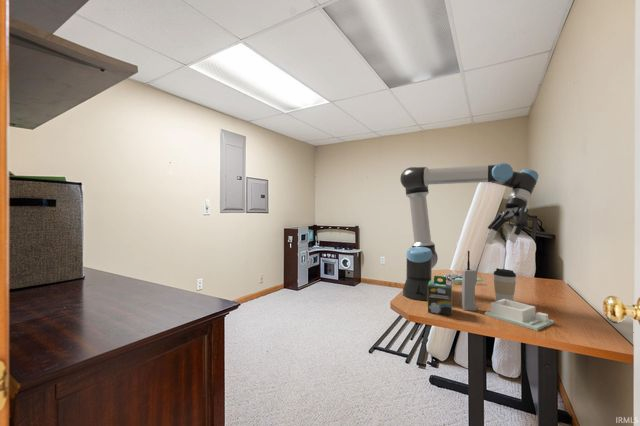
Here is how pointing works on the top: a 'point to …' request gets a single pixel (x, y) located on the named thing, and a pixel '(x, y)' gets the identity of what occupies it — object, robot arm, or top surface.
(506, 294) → the coffee cup
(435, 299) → the chalk box
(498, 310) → the architectural building model
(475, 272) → the vintage mobile phone
